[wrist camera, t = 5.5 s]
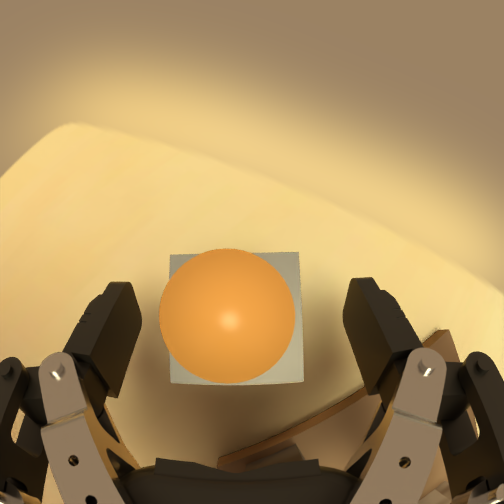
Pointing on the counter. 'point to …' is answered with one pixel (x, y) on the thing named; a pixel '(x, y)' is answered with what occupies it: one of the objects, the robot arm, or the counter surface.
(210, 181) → the counter surface
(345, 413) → the board
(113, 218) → the counter surface
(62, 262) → the counter surface
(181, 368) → the connector plug
